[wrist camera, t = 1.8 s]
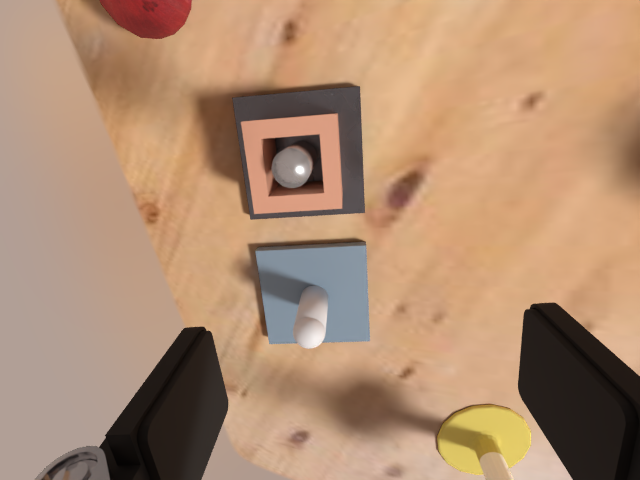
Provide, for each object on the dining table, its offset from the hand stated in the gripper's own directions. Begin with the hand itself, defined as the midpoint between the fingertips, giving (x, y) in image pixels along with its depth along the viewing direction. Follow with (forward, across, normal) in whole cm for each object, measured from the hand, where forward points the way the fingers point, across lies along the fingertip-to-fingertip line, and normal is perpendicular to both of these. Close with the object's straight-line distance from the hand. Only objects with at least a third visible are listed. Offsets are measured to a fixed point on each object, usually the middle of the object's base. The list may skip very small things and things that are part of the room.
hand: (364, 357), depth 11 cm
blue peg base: (+22, +4, +9) cm, 24 cm away
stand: (+22, +4, -4) cm, 23 cm away
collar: (+21, +4, -4) cm, 22 cm away
